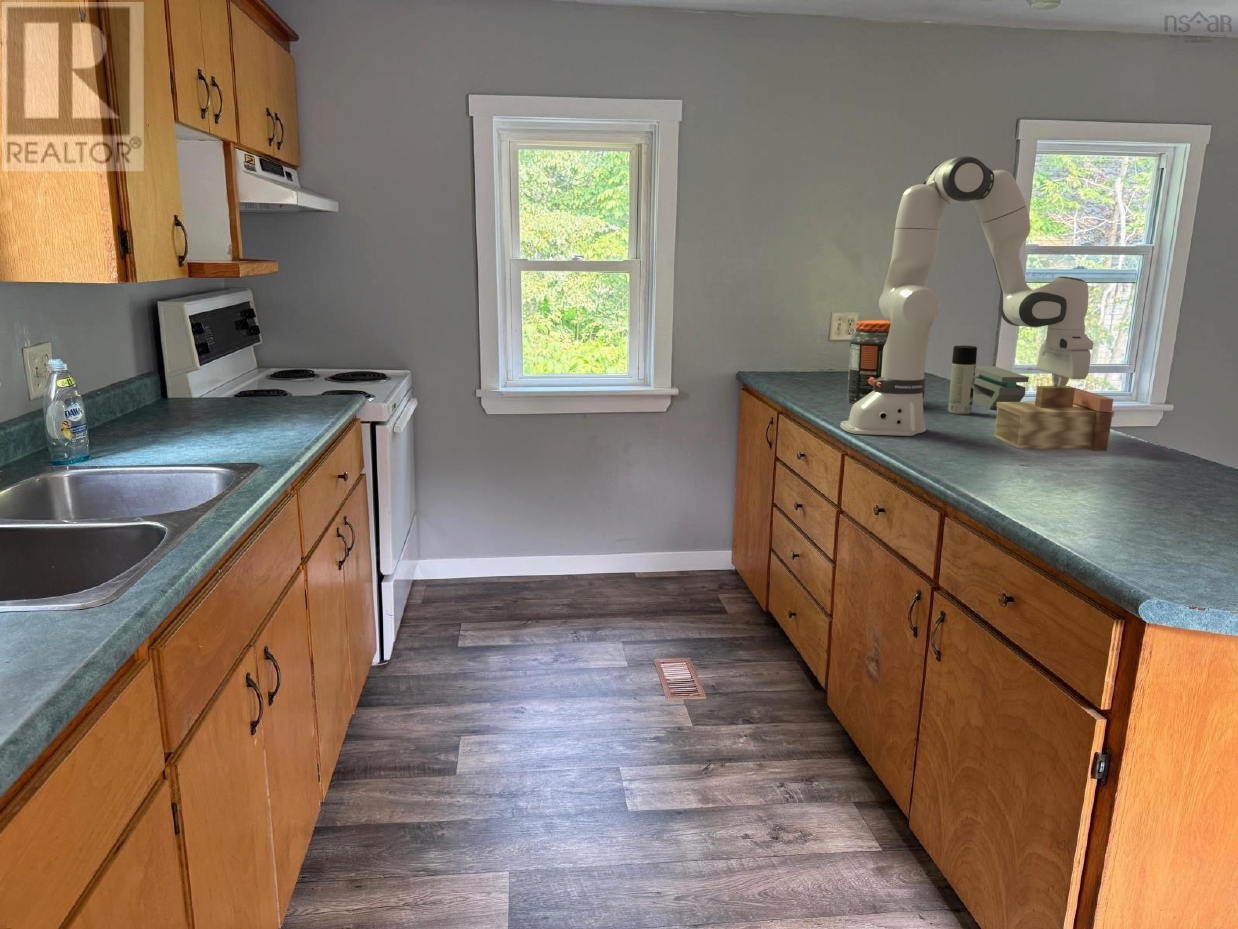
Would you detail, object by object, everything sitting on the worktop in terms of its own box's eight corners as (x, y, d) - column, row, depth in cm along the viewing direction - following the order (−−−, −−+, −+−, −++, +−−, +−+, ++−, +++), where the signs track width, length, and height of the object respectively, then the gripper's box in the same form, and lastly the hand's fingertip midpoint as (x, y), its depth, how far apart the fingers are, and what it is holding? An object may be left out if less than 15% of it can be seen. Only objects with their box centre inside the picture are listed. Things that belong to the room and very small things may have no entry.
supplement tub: (891, 398, 281) (897, 319, 274) (902, 406, 266) (908, 323, 259) (842, 397, 282) (847, 319, 276) (850, 406, 267) (855, 323, 261)
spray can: (973, 415, 252) (980, 347, 247) (949, 414, 253) (955, 347, 248) (969, 411, 258) (975, 345, 253) (945, 410, 259) (951, 344, 254)
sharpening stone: (1024, 413, 255) (1028, 377, 252) (998, 413, 255) (1002, 377, 252) (990, 399, 279) (993, 366, 276) (966, 399, 279) (969, 366, 276)
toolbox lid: (1020, 422, 207) (1024, 391, 205) (995, 412, 221) (998, 382, 219) (1112, 422, 207) (1117, 391, 205) (1081, 411, 221) (1085, 382, 219)
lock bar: (1099, 411, 204) (1100, 399, 204) (1061, 398, 222) (1062, 387, 221) (1111, 411, 204) (1113, 399, 204) (1073, 398, 222) (1074, 387, 221)
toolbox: (1022, 450, 207) (1027, 413, 204) (990, 434, 225) (994, 400, 222) (1113, 450, 207) (1118, 412, 204) (1073, 434, 225) (1078, 399, 222)
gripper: (1034, 335, 233) (1028, 385, 237) (1072, 343, 213) (1065, 398, 217) (1057, 335, 233) (1051, 385, 237) (1097, 343, 213) (1090, 397, 217)
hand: (1058, 391), depth 227 cm, fingers closed
